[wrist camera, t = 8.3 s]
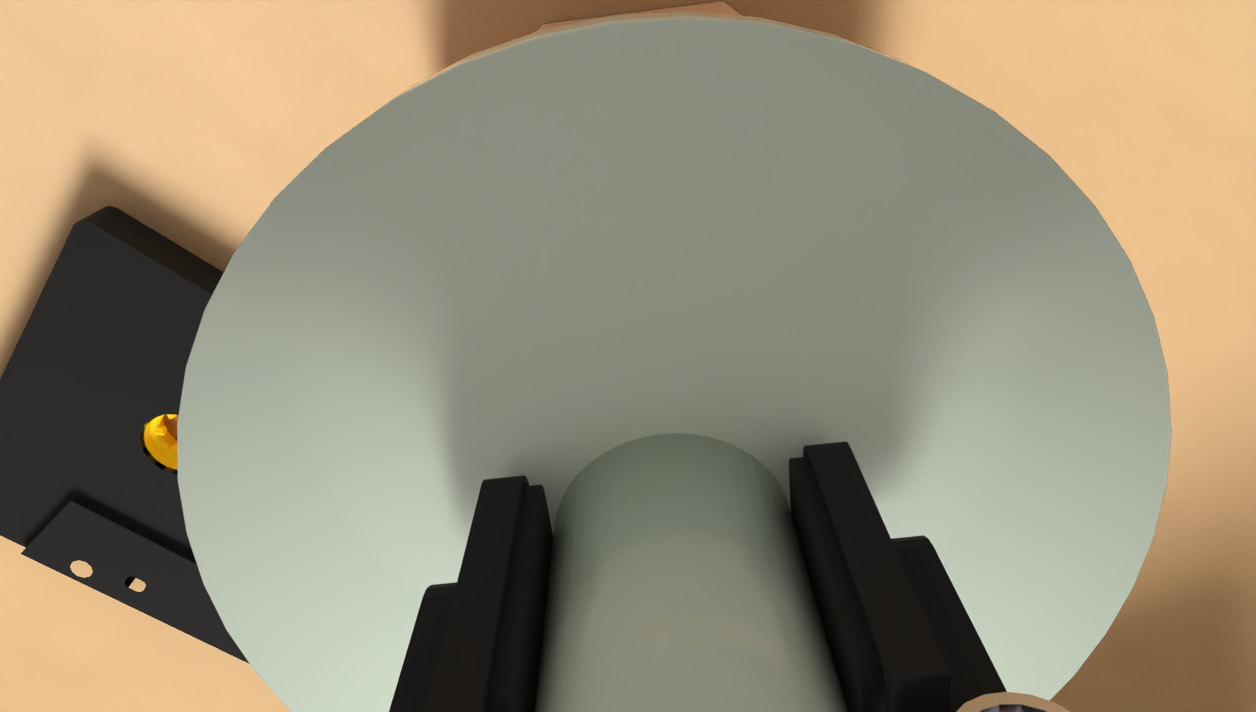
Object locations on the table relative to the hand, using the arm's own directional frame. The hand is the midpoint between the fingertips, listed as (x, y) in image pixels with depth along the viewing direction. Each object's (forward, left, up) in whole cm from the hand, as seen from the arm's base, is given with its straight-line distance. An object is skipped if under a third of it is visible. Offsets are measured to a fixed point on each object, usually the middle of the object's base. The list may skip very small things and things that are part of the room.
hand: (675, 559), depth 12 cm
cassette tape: (+12, +8, -16) cm, 21 cm away
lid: (0, 0, -2) cm, 2 cm away
